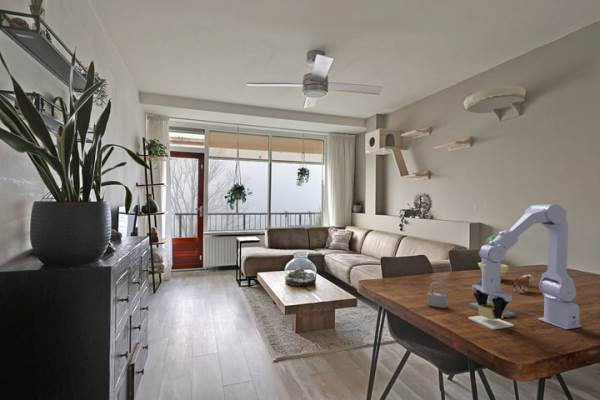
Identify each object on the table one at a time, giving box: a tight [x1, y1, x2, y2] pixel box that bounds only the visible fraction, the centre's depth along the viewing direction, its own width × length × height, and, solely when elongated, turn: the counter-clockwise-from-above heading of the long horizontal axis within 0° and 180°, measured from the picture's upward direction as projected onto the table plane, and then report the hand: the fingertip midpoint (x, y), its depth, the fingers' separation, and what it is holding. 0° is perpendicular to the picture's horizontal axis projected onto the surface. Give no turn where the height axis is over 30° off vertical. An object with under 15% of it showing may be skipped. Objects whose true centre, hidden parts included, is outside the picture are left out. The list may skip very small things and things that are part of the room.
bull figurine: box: [512, 273, 535, 294], centre depth 153 cm, size 4×13×8 cm, turn 112°
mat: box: [468, 315, 514, 331], centre depth 111 cm, size 10×10×1 cm
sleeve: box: [477, 304, 504, 320], centre depth 111 cm, size 6×6×4 cm
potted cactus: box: [477, 235, 510, 281], centre depth 177 cm, size 15×15×25 cm
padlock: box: [426, 281, 447, 309], centre depth 128 cm, size 7×4×10 cm, turn 64°
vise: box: [468, 295, 516, 319], centre depth 124 cm, size 14×12×8 cm
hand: (490, 315), depth 111 cm, fingers closed on sleeve, 5 cm apart
